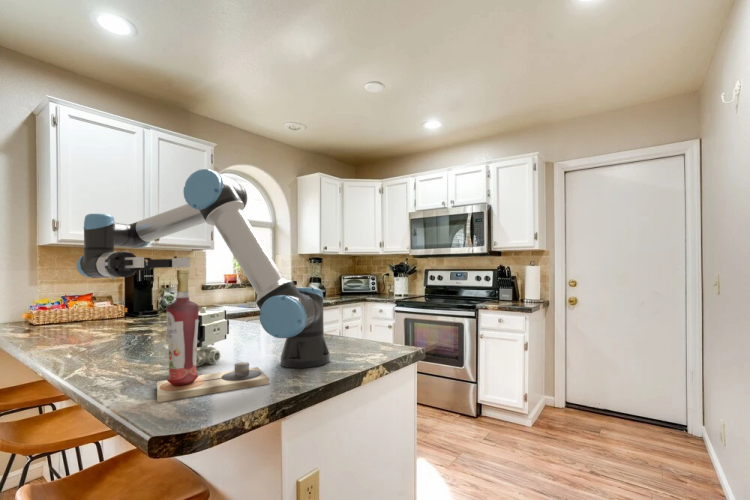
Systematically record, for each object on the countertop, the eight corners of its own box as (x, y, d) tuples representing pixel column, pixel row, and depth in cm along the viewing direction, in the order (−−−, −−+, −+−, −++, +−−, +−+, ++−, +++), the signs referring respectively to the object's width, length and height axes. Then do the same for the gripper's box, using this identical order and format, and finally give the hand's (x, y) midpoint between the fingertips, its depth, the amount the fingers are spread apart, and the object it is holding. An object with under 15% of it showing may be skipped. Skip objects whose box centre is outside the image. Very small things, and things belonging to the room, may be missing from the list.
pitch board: (257, 372, 111) (257, 356, 111) (269, 383, 99) (268, 365, 99) (157, 387, 98) (157, 369, 98) (157, 402, 87) (157, 382, 87)
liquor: (204, 382, 96) (204, 269, 98) (174, 389, 91) (174, 270, 92) (190, 377, 101) (189, 270, 102) (160, 384, 95) (160, 270, 96)
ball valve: (199, 371, 113) (199, 310, 114) (173, 370, 115) (173, 310, 116) (233, 357, 131) (233, 304, 132) (211, 356, 132) (210, 304, 133)
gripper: (158, 275, 125) (205, 274, 116) (70, 278, 103) (119, 277, 94) (158, 252, 126) (204, 249, 116) (70, 250, 103) (119, 246, 94)
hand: (167, 262), depth 105 cm, fingers open, 13 cm apart
